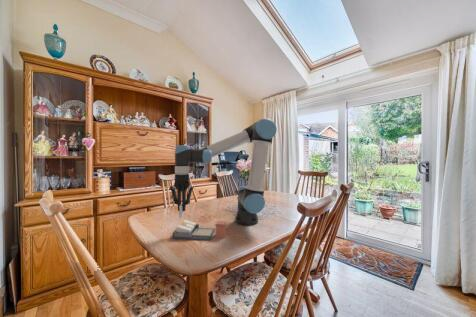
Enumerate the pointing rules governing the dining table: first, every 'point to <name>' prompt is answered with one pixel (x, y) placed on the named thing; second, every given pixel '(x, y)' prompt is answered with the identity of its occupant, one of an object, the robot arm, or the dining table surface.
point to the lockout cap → (221, 229)
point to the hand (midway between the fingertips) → (181, 216)
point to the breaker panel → (195, 234)
